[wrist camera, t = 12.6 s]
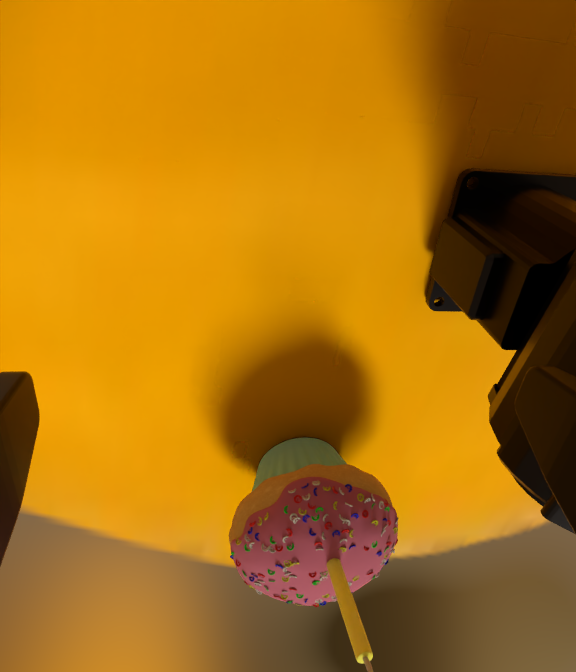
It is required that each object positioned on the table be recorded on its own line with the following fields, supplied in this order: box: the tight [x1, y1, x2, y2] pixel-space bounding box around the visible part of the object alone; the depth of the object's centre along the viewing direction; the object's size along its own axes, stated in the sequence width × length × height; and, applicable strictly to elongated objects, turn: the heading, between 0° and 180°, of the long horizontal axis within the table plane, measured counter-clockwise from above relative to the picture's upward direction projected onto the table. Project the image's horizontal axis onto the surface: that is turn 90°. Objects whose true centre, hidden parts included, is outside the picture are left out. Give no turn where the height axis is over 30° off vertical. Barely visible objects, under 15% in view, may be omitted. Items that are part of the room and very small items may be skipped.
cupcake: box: [229, 437, 398, 672], centre depth 24 cm, size 9×8×12 cm
